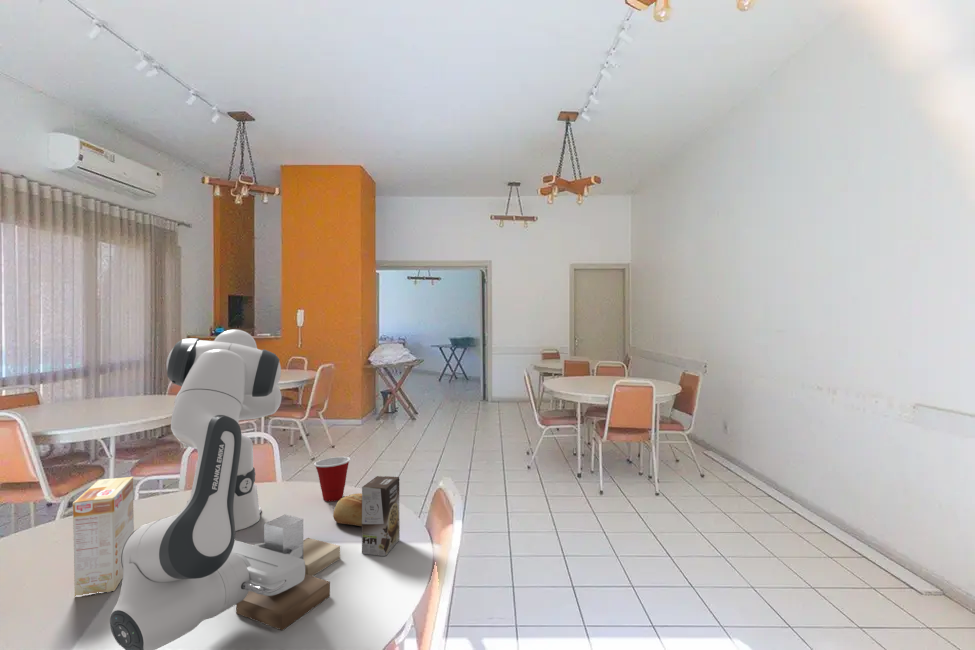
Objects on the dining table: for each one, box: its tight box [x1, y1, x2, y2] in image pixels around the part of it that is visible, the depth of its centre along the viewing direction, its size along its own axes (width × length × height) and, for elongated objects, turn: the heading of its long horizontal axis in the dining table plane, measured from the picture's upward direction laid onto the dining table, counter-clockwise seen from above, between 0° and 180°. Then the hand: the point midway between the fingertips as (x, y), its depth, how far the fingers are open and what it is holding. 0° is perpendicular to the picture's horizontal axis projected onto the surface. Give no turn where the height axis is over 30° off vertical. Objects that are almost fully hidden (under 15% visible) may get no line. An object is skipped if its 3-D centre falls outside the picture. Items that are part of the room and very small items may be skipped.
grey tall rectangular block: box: [263, 514, 304, 592], centre depth 97 cm, size 5×5×12 cm
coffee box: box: [361, 475, 401, 557], centre depth 121 cm, size 9×6×16 cm
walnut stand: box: [235, 574, 331, 631], centre depth 97 cm, size 12×12×3 cm
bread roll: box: [332, 492, 362, 527], centre depth 135 cm, size 10×15×8 cm, turn 72°
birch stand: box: [303, 537, 341, 577], centre depth 113 cm, size 10×10×3 cm
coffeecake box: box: [71, 476, 135, 597], centre depth 107 cm, size 15×7×20 cm, turn 22°
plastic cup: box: [313, 456, 351, 503], centre depth 154 cm, size 11×11×12 cm
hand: (287, 547), depth 98 cm, fingers closed on grey tall rectangular block, 5 cm apart
